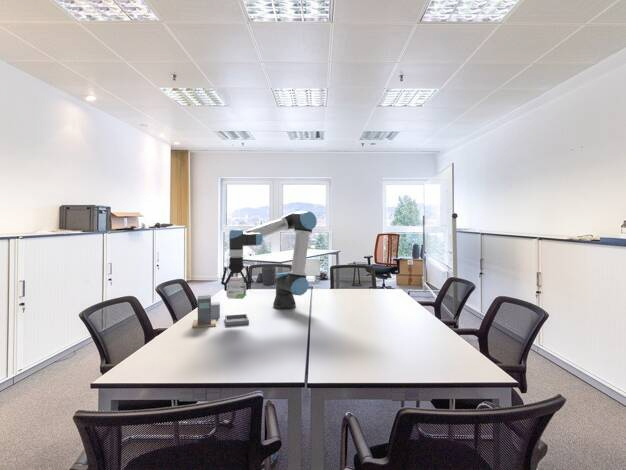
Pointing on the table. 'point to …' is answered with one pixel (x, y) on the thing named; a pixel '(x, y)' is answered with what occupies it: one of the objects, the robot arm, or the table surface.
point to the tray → (236, 320)
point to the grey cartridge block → (215, 310)
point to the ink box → (236, 288)
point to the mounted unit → (204, 313)
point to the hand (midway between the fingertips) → (236, 296)
